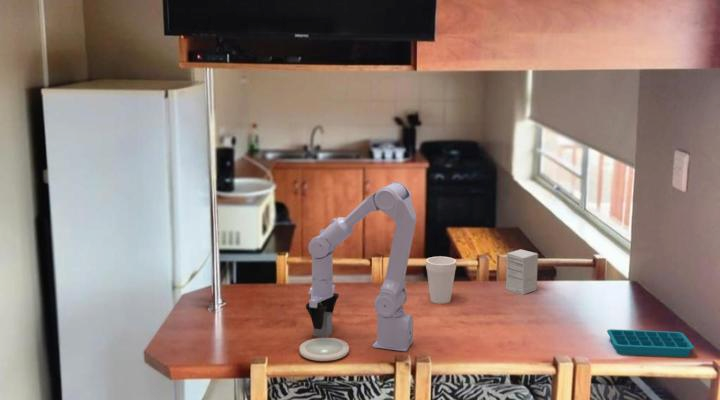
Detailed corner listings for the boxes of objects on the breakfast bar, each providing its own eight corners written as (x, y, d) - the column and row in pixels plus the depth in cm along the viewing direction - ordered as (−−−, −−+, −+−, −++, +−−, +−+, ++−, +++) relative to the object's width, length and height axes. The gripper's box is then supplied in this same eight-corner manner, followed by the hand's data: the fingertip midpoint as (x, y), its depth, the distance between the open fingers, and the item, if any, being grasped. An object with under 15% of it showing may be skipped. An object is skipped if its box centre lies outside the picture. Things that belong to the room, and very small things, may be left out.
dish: (355, 346, 208) (355, 340, 207) (338, 365, 196) (338, 359, 195) (310, 340, 212) (310, 334, 211) (291, 359, 200) (291, 353, 199)
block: (332, 332, 218) (332, 312, 216) (327, 337, 214) (327, 317, 213) (319, 330, 219) (318, 310, 218) (313, 336, 215) (313, 315, 214)
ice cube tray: (605, 339, 213) (606, 329, 212) (681, 342, 211) (682, 332, 210) (614, 356, 202) (615, 345, 201) (694, 359, 200) (695, 348, 199)
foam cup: (425, 295, 249) (425, 256, 246) (453, 295, 248) (454, 256, 245) (426, 305, 239) (427, 265, 237) (456, 305, 239) (457, 265, 236)
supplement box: (519, 285, 258) (520, 248, 256) (537, 290, 253) (538, 253, 250) (504, 289, 254) (506, 252, 251) (522, 295, 248) (524, 257, 246)
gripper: (318, 268, 221) (319, 313, 224) (298, 283, 207) (299, 331, 210) (341, 270, 219) (341, 316, 221) (323, 286, 205) (323, 334, 208)
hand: (322, 323), depth 216 cm, fingers open, 7 cm apart
